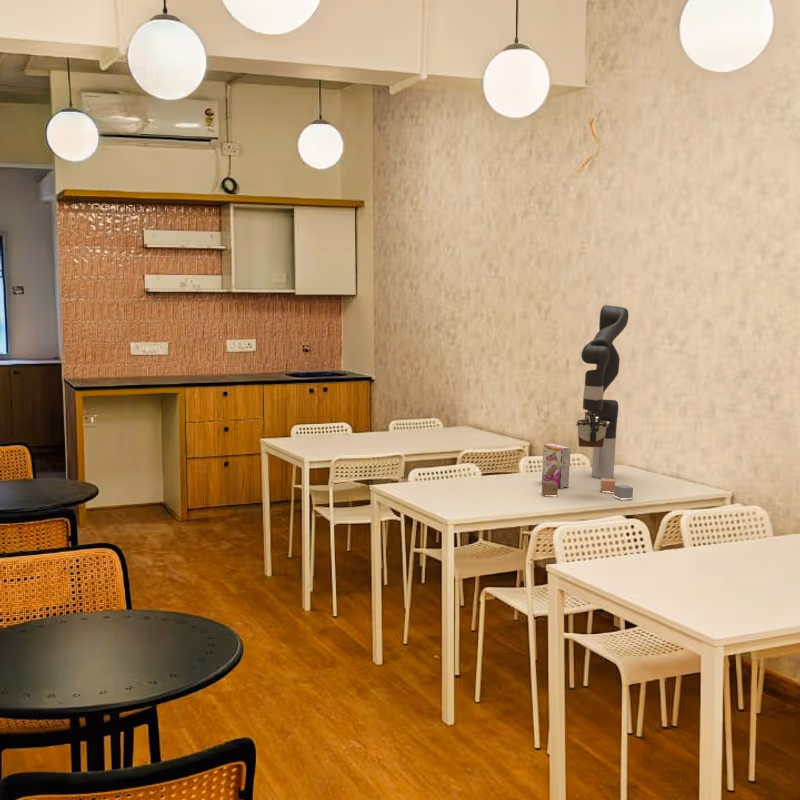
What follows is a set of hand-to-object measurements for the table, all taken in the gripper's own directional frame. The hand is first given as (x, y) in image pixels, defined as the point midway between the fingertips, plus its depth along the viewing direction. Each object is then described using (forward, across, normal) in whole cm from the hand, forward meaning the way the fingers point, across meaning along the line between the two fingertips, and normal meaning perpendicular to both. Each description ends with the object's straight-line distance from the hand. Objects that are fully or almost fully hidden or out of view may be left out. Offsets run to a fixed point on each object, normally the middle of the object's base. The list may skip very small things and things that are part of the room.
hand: (590, 440), depth 390 cm
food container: (+2, -1, 0) cm, 2 cm away
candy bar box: (+22, -18, -9) cm, 30 cm away
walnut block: (+22, 0, -15) cm, 27 cm away
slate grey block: (+22, +4, +13) cm, 26 cm away
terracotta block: (+22, -8, +10) cm, 25 cm away
